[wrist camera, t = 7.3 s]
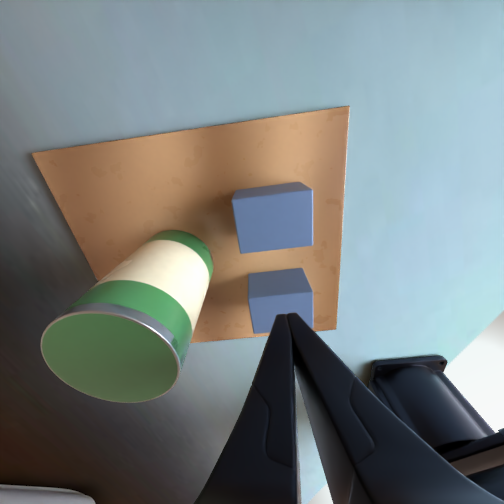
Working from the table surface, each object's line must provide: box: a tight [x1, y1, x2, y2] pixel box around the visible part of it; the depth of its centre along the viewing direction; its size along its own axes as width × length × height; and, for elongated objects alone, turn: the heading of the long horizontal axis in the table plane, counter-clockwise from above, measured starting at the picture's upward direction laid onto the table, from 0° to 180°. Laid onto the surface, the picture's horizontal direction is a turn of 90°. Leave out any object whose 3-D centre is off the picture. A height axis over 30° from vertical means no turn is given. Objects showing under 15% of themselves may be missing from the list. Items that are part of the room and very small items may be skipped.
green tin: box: [41, 230, 214, 403], centre depth 11 cm, size 9×5×9 cm
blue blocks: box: [231, 182, 313, 334], centre depth 13 cm, size 4×9×3 cm, turn 7°
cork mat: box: [31, 106, 350, 343], centre depth 15 cm, size 18×16×1 cm
